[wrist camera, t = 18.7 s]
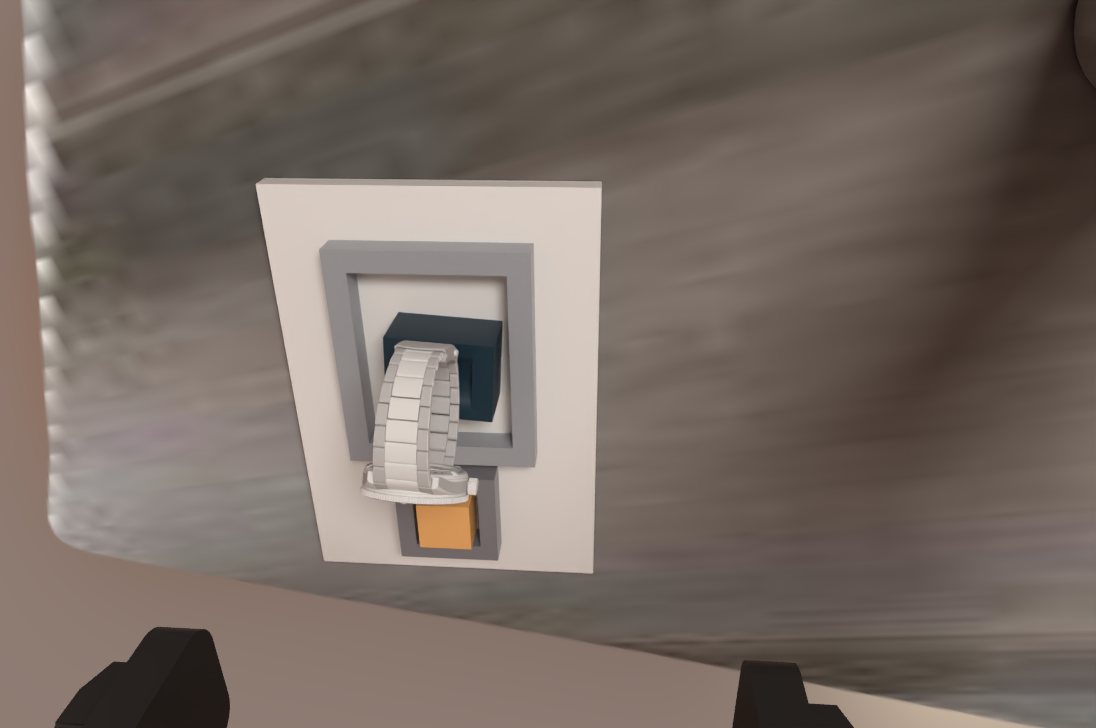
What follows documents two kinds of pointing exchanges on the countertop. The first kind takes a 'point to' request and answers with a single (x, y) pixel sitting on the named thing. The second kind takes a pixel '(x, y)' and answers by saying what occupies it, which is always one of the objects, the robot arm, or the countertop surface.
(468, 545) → the button
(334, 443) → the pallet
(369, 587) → the countertop surface
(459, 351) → the watch
